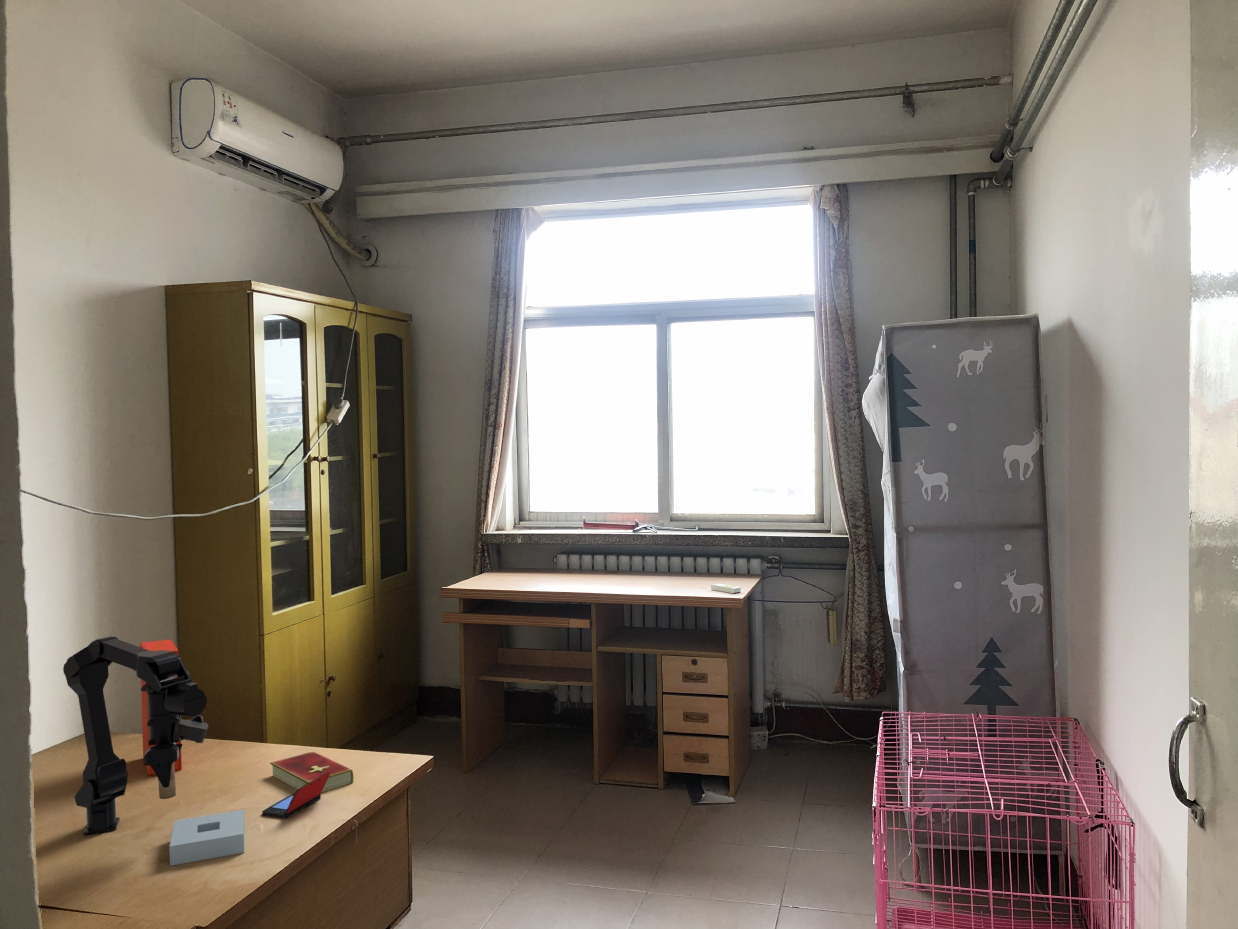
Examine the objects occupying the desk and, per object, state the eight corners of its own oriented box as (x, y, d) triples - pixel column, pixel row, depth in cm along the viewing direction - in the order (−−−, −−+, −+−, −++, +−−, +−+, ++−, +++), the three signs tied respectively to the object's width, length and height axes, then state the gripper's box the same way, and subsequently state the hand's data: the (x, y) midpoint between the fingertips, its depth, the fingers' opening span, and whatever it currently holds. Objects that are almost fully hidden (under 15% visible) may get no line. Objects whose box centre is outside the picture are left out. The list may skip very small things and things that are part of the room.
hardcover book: (314, 765, 245) (313, 749, 245) (353, 784, 230) (353, 767, 230) (270, 777, 237) (270, 761, 237) (308, 798, 222) (308, 781, 222)
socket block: (175, 838, 200) (174, 820, 200) (244, 827, 205) (244, 809, 205) (170, 865, 187) (169, 846, 187) (244, 852, 192) (243, 833, 192)
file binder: (175, 752, 258) (171, 639, 257) (183, 770, 243) (178, 650, 242) (143, 758, 253) (138, 643, 253) (149, 776, 239) (144, 654, 238)
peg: (160, 795, 197) (158, 758, 197) (176, 792, 199) (174, 755, 198) (158, 800, 194) (156, 762, 194) (175, 797, 196) (173, 760, 196)
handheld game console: (296, 796, 223) (295, 766, 223) (333, 801, 219) (332, 770, 219) (259, 816, 211) (258, 784, 211) (298, 822, 208) (296, 789, 207)
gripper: (201, 717, 190) (205, 792, 191) (206, 696, 208) (210, 765, 208) (141, 725, 186) (145, 802, 187) (152, 703, 204) (155, 773, 204)
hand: (167, 784), depth 196 cm, fingers closed on peg, 3 cm apart
